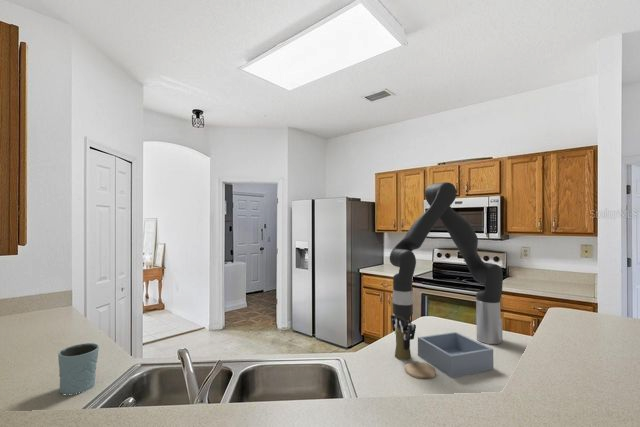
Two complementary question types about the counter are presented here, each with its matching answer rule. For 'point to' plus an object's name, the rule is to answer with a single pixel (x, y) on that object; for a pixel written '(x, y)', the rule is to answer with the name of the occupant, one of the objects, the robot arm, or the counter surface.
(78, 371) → the blue-grey textured cup
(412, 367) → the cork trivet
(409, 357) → the pepper shaker
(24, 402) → the counter surface
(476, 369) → the bin
